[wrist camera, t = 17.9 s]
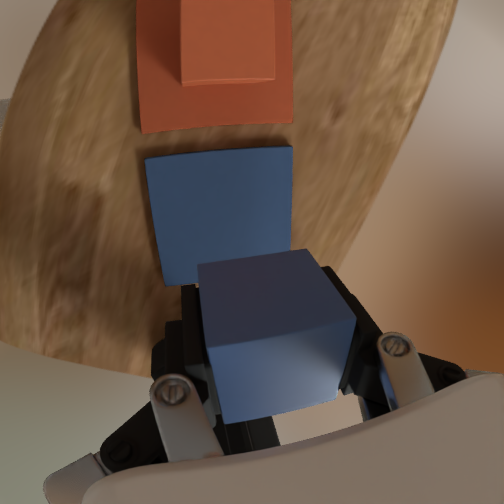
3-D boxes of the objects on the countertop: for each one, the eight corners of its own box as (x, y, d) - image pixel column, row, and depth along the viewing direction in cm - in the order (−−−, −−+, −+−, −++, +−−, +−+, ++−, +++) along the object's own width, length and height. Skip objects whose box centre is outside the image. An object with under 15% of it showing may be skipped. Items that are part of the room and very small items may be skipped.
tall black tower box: (191, 383, 27) (243, 638, 6) (142, 354, 24) (170, 654, 3) (255, 341, 26) (358, 625, 5) (208, 303, 23) (303, 666, 2)
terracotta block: (181, 86, 15) (181, 82, 12) (180, 20, 13) (180, -2, 9) (255, 83, 16) (275, 80, 12) (254, 18, 14) (274, -1, 10)
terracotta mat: (142, 133, 16) (141, 134, 16) (137, -5, 12) (136, -7, 12) (290, 122, 18) (293, 122, 17) (288, -9, 13) (290, -11, 13)
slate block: (210, 344, 13) (224, 424, 10) (196, 263, 11) (205, 347, 7) (301, 328, 14) (336, 399, 10) (306, 247, 12) (357, 317, 8)
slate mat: (165, 283, 21) (165, 286, 21) (144, 157, 17) (144, 159, 17) (287, 267, 23) (289, 270, 23) (290, 145, 19) (292, 146, 18)
